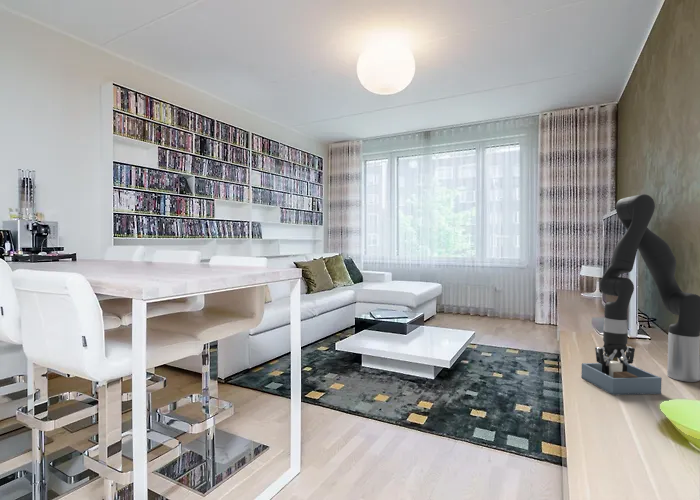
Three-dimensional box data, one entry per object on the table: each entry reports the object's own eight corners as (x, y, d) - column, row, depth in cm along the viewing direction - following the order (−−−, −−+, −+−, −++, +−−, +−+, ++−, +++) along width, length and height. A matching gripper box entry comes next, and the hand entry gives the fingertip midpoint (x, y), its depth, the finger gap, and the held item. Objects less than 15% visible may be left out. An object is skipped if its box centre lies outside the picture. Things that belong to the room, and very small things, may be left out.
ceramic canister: (615, 378, 148) (615, 360, 148) (625, 383, 143) (626, 364, 143) (602, 378, 148) (603, 360, 148) (612, 383, 143) (613, 364, 143)
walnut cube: (626, 385, 142) (626, 371, 142) (637, 390, 137) (637, 376, 137) (613, 385, 142) (613, 371, 141) (623, 390, 137) (623, 376, 136)
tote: (624, 376, 152) (625, 362, 152) (661, 393, 136) (661, 377, 135) (581, 377, 151) (581, 363, 151) (612, 394, 135) (613, 379, 134)
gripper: (626, 327, 149) (625, 370, 150) (590, 328, 148) (589, 371, 149) (641, 332, 142) (640, 377, 142) (604, 333, 141) (603, 378, 142)
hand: (614, 374), depth 146 cm, fingers open, 6 cm apart
